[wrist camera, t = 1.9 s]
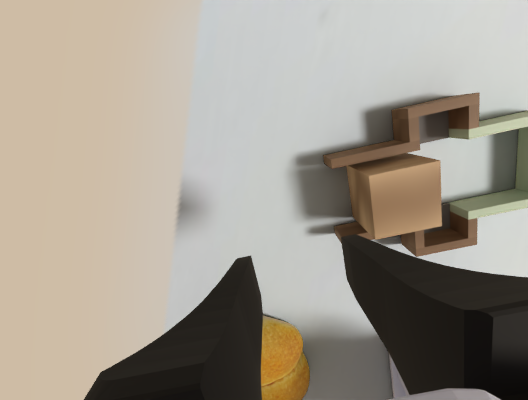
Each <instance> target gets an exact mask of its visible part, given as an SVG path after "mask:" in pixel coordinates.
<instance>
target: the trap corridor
mask: <svg viewBox="0 0 528 400" xmlns="http://www.w3.org/2000/svg"><path fill="white" fill-rule="evenodd" d="M392 121H393V135H394V140H391V141H387V142H382V143H378V144H373V145H368V146H364V147H359V148H355V149H350V150H346V151H341V152H336V153H332V154H327V155H323V157H324V164H325V165H327V166H329V167H330V168H332V169H334V168H339V167H343V166H348V165H352V164H357V163H362V162H366V161H371V160H376V159H380V158H385V157H389V156H394V155H399V154H403V153H408V152H412V151H417V150H420V144H421V143H426V142H430V141H435V140H439V139H444V138H460V139H473V138H477V137H482V136H486V135H491V134H496V133H500V132H505V131H509V130H514V129H519V132H518V149H517V166H516V183H515V189H511V190H506V191H501V192H496V193H492V194H487V195H482V196H477V197H473V198H468V199H463V200H458V201H453V202H449V203H444V204H441V212H442V226H439V227H434V228H430V229H425V230H420V231H415V232H410V233H405V234H401V244H402V245H403V246H404V247H406V248H407V249H408V250H409V251H410V252H411V253H413V254H414V255H415V256H416V257H417V256H422V255H427V254H432V253H437V252H442V251H447V250H452V249H457V248H462V247H467V246H472V245H477V218H479V217H484V216H489V215H494V214H499V213H504V212H509V211H513V210H518V209H523V208H528V111H524V112H519V113H515V114H510V115H506V116H501V117H497V118H492V119H487V120H483V121H479V93H472V94H464V95H456V96H451V97H447V98H442V99H438V100H433V101H429V102H424V103H420V104H415V105H411V106H406V107H402V108H397V109H393V110H392ZM334 230H335V234H336V236H337V237H338V239H339V240H340V242H341V237H343V236H348V235H353V234H356V235H359V236H362V237H364V238H367V239H369V240H373V239H374V238H373V237H372V236H371V235H370V234H369V233H368V232H367V231H366V230H365V229H364V228H363V227H362V226H361V225H360V224H359V223H358V222H353V223H348V224H343V225H338V226H334ZM341 243H342V242H341Z"/></svg>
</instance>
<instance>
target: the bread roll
mask: <svg viewBox="0 0 528 400" xmlns="http://www.w3.org/2000/svg"><path fill="white" fill-rule="evenodd" d="M302 349H303V339H302V337H301V335H300V333H299V331H298V330H297V329H296V327H295V326H293V325H292V324H290V323H288V322H285V321H281V320H278V319H274V318H270V317H267V316H263V328H262V354H261V390H262V400H302V398H303V397H304V395H305V394H306V392H307V389H308V386H309V380H310V370H309V366H308V362H307V360H306V357H305V355H304V353H303V351H302Z"/></svg>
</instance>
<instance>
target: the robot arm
mask: <svg viewBox="0 0 528 400" xmlns="http://www.w3.org/2000/svg"><path fill="white" fill-rule="evenodd" d="M341 242H342V249H343V255H344V262H345V269H346V276H347V280H348V282H349V285H350V287H351V289H352V291H353V294H354V296H355V298H356V300H357V301H358V303H359V305H360V306H361V308H362V310H363V311H364V313H365V314H366V316H367V318H368V319H369V321H370V322H371V324H372V326H373V327H374V329H375V331H376V332H377V334H378V335H379V337H380V339H381V340H382V342H383V343H384V345H385V347H386V349H387V351H388V352H389V360H390V370H391V380H392V390H393V398H392V399H387V400H528V277H515V276H507V275H498V274H490V273H483V272H476V271H470V270H465V269H460V268H454V267H450V266H445V265H441V264H437V263H433V262H429V261H426V260H422V259H419V258H416V257H413V256H410V255H407V254H404V253H401V252H398V251H396V250H393V249H390V248H388V247H386V246H383V245H381V244H378V243H376V242H374V241H371V240H369V239H367V238H364V237H362V236H359V235H356V234H353V235H348V236H343V237H341ZM262 328H263V312H262V301H261V294H260V290H259V286H258V282H257V278H256V274H255V270H254V266H253V262H252V258H251V256H247V257H242V258H237V259H236V260H235V262H234V263H233V265H232V266H231V267H230V269H229V270H228V271H227V273H226V274H225V275H224V277H223V278H222V279H221V281H220V282H219V283H218V284H217V285H216V287H215V288H214V289H213V290H212V291H211V292H210V294H209V295H208V296H207V297H206V298H205V299H204V300H203V301H202V302H201V303H200V304H199V305H198V306H197V307H196V308H195V309H194V310H193V311H192V312H191V313H190V314H189V315H187V316H186V317H185V318H184V319H183V320H181V321H180V322H179V323H178V324H176V325H175V326H174V327H173V328H171V329H170V330H169V331H168V332H166V333H165V334H163V335H162V336H161V337H159V338H158V339H156V340H155V341H153V342H152V343H150V344H149V345H147V346H146V347H144V348H143V349H141V350H139V351H138V352H136V353H135V354H133V355H131V356H129V357H127V358H126V359H124V360H122V361H120V362H119V363H117V364H115V365H113V366H112V367H110V368H108V369H106V370H104V371H102V372H101V373H100V374H99V376H98V378H97V379H96V381H95V382H94V384H93V386H92V388H91V389H90V391H89V392H88V394H87V395H86V397H85V399H84V400H262V390H261V354H262Z"/></svg>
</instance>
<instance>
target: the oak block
mask: <svg viewBox="0 0 528 400" xmlns="http://www.w3.org/2000/svg"><path fill="white" fill-rule="evenodd" d="M346 167H347V174H348V182H349V190H350V198H351V206H352V214H353V218H354V219H355V220H356V221H357V222H358V223H359V224H360V225H361V226H362V227H363V228H364V229H365V230H366V231H367V232H368V233H369V234H370V235H371V236H372V237H373V238H374V239H375V240H377V239H381V238H386V237H391V236H396V235H401V234H405V233H410V232H415V231H420V230H425V229H430V228H434V227H439V226H442V212H441V171H440V160H435V159H431V158H426V157H422V156H417V155H413V154H408V153H403V154H399V155H394V156H389V157H385V158H380V159H376V160H371V161H366V162H362V163H357V164H352V165H348V166H346Z"/></svg>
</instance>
